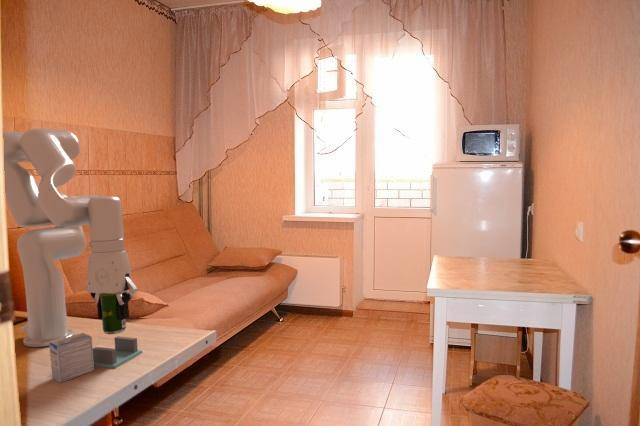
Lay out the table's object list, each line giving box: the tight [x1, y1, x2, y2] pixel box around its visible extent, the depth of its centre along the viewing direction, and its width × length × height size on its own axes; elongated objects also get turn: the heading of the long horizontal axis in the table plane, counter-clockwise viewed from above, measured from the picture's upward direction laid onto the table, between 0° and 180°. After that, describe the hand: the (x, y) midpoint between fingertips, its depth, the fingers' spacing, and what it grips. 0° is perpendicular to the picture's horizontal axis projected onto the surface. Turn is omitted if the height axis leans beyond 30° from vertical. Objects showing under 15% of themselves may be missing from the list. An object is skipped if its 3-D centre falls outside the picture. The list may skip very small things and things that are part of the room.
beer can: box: [100, 293, 127, 335], centre depth 121 cm, size 5×5×12 cm
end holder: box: [93, 335, 143, 369], centre depth 123 cm, size 8×10×4 cm
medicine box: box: [48, 332, 95, 384], centre depth 113 cm, size 8×4×9 cm, turn 141°
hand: (113, 317), depth 122 cm, fingers closed on beer can, 5 cm apart
